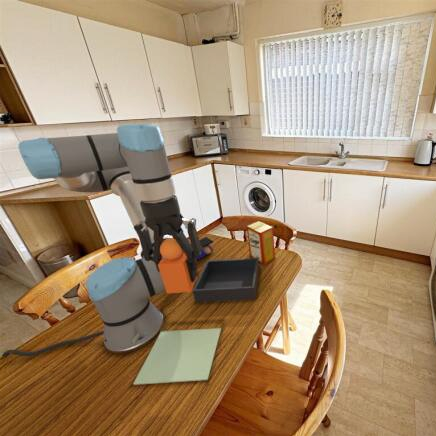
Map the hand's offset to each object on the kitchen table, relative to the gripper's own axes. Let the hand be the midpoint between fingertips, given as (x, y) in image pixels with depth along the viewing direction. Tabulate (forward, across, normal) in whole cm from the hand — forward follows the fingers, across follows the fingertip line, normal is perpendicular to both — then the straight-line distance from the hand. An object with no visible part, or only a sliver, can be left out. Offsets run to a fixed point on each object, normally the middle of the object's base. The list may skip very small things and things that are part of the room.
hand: (181, 279), depth 63 cm
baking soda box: (+20, -19, -37) cm, 46 cm away
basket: (+20, -7, -20) cm, 29 cm away
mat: (+20, +2, +6) cm, 21 cm away
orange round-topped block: (+2, 0, 0) cm, 2 cm away
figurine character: (+20, +10, -40) cm, 46 cm away
